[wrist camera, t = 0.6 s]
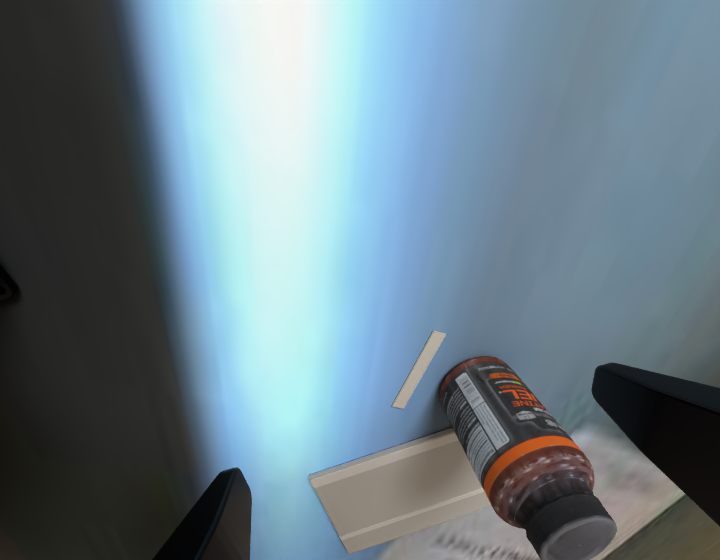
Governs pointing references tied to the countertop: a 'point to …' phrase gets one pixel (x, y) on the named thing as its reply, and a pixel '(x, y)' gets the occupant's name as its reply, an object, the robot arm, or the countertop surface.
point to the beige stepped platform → (399, 490)
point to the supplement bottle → (525, 461)
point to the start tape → (419, 369)
